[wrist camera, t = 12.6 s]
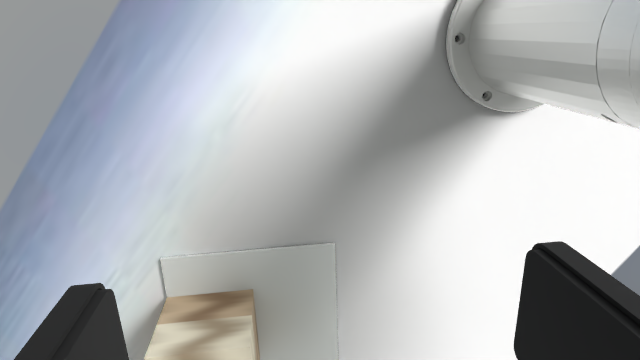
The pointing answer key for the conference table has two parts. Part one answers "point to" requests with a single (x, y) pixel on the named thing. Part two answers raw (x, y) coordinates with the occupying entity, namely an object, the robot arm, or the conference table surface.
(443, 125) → the conference table surface
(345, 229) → the conference table surface
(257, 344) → the block lower
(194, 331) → the block upper
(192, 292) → the mat
